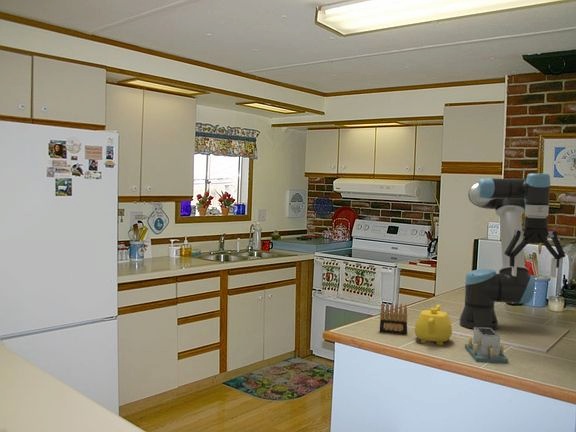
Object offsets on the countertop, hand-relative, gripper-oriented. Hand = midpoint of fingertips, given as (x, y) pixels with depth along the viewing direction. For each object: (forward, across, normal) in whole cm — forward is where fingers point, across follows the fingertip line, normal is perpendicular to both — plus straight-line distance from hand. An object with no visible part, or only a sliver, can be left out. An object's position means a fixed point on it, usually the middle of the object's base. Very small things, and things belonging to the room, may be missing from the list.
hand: (533, 276), depth 192 cm
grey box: (+26, -18, -8) cm, 32 cm away
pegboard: (+27, -18, -8) cm, 33 cm away
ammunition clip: (+27, -47, +15) cm, 56 cm away
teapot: (+27, -33, +7) cm, 43 cm away
